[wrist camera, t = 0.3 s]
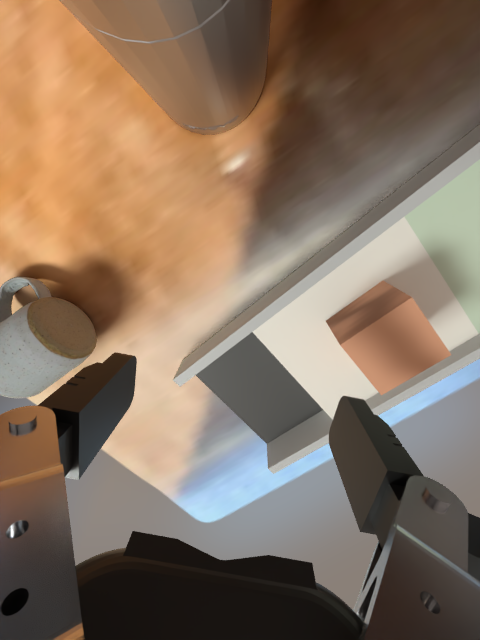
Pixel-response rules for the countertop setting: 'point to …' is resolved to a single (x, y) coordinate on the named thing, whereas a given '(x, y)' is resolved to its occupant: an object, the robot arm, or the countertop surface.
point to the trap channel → (317, 338)
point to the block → (387, 336)
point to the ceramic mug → (40, 339)
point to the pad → (454, 237)
